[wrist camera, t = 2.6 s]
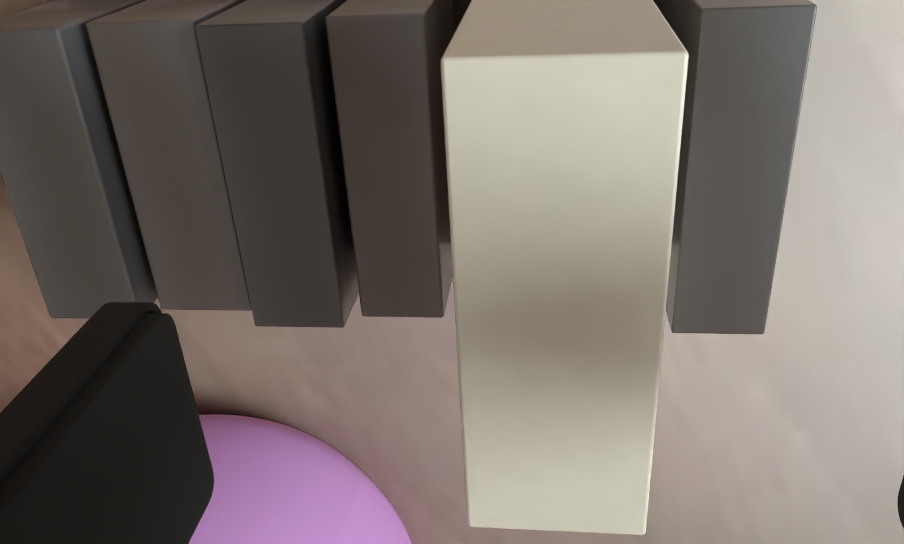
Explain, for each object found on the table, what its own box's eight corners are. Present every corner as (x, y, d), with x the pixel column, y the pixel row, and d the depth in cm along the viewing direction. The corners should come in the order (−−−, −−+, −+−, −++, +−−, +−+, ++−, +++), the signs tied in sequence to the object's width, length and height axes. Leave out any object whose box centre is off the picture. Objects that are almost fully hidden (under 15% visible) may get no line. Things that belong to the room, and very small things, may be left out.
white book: (619, -53, 19) (689, 51, 9) (605, 244, 23) (646, 536, 13) (495, -48, 19) (439, 57, 10) (502, 244, 23) (467, 528, 13)
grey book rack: (759, -64, 19) (846, -27, 14) (723, 230, 23) (780, 354, 17) (80, -34, 22) (-89, 9, 16) (148, 229, 25) (32, 340, 20)
